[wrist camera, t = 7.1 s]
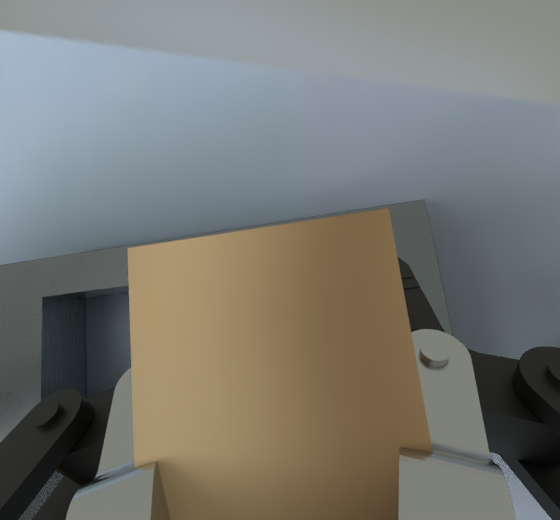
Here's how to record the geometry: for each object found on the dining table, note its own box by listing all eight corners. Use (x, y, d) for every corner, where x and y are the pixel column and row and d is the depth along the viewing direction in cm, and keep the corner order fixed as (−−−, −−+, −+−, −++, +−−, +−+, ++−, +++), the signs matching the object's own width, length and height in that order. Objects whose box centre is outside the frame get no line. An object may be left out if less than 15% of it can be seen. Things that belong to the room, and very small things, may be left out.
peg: (265, 377, 14) (136, 535, 4) (256, 285, 15) (127, 248, 5) (359, 368, 14) (446, 527, 4) (345, 273, 14) (388, 208, 5)
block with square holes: (36, 445, 15) (-18, 471, 13) (39, 272, 17) (-9, 266, 14) (446, 417, 13) (475, 443, 10) (407, 217, 14) (424, 199, 12)
